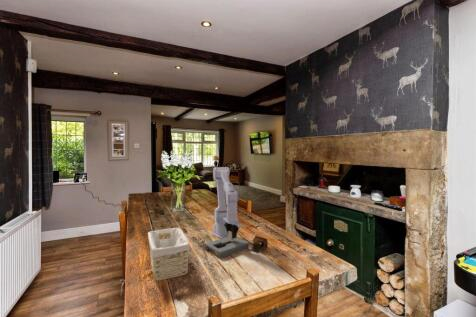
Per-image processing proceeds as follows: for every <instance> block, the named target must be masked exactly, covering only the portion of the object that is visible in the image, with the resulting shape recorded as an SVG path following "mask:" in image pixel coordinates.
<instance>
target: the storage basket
mask: <svg viewBox="0 0 476 317" xmlns="http://www.w3.org/2000/svg"><path fill="white" fill-rule="evenodd" d="M167 235H170V237H168V238H162V239H161V238H160V236H167ZM147 238H148V243H149V252H150V257H149V258H150V265H151V271H152V274H153V277H154V280H155V281H157V282H158V281H163V280H167V279H172V278H177V277H182V276H185V275H187V274H189V273H188V271H189V270H188V269H189V251H190V243H189V240H188V238H187V237H186V235H185V234H184V232H183V230H182V229H181V228H180V227H173V228H164V229H157V230H151V231H148V232H147Z"/></svg>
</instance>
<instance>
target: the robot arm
mask: <svg viewBox="0 0 476 317" xmlns="http://www.w3.org/2000/svg"><path fill="white" fill-rule="evenodd" d="M230 173H231V172H230V168H229V167H228V166H225V167H224V166H223V167H221V166H220V167H216V166H215V167H213V169H212V178H213V181H214V182H216V191H217V192H216V193H217V204H218V205H217V207H216V208H215V209H214V214H213V219H214V224H213V233H212V235H213V236H215V237H217V238H219V239H222V238H225V237H228V231H229V230H231V231H232V238H236V235H237V236H238V232H239V230H240V228H242V226H243V225H242V223H241V222H240V221H239V219H238V202H239V200H240V197H239V193H238V191H237V190H235V186H234V184H233V183H232V182H231V181H230V178H229V177H230Z"/></svg>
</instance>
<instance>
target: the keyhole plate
mask: <svg viewBox="0 0 476 317" xmlns="http://www.w3.org/2000/svg"><path fill="white" fill-rule="evenodd" d="M229 243H230V244H229ZM248 248H249V241H246V240H244V239H242V238H241V237H238V236H237V238H235V239H234V242H233V243H231V239H230V238H228V237H225V238H219V239H217V240H213V241H209V242H206V243H204V251H206V252H208V251H214V252H215V253H216V254H217V255H216V256H217V259H219V260H222V259H224V258H227V257H229V256H232V255H234V254H238V253H241V252H242V251H246V250H249V249H248Z"/></svg>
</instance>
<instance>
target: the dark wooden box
mask: <svg viewBox="0 0 476 317" xmlns="http://www.w3.org/2000/svg"><path fill="white" fill-rule="evenodd" d="M268 241H269V240H268V239H267V238H265V237H262V236H258V235H255V236H254V237H253V239H252V245H251V247H250V248H251V249H250V250H251V251H253V252H256V253H259V252H261V251H262V252H264V251H266V249H267V248H268V246H269V244H268Z"/></svg>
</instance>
